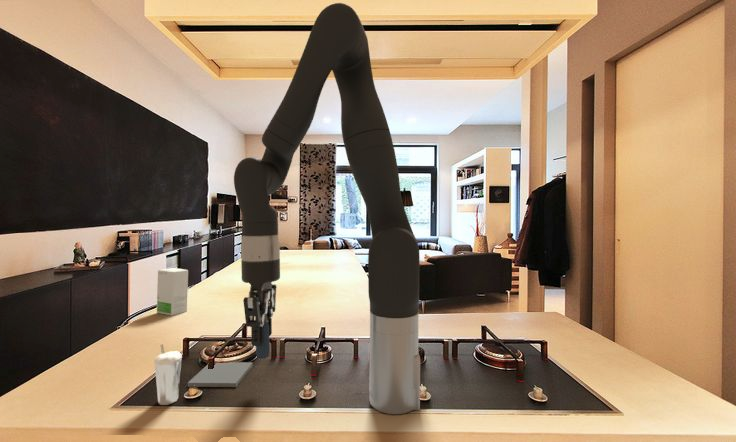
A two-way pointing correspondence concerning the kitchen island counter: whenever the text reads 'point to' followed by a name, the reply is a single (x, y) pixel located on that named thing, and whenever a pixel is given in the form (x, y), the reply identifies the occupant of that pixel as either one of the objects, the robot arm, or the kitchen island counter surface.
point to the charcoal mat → (221, 375)
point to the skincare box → (172, 291)
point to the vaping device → (265, 348)
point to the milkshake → (167, 376)
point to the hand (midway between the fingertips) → (262, 339)
